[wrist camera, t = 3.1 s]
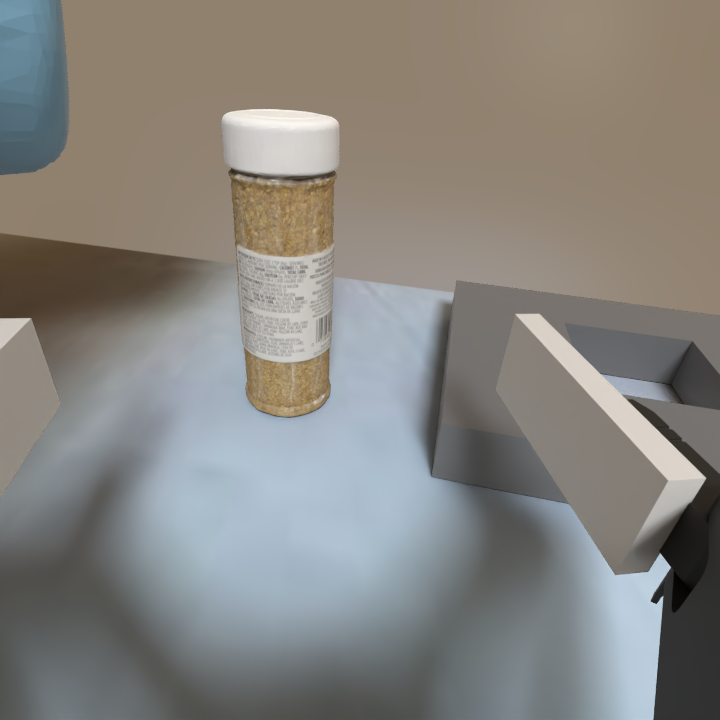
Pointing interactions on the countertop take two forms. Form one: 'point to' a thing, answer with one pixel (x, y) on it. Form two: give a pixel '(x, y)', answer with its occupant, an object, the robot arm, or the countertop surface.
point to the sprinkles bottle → (284, 252)
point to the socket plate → (598, 346)
